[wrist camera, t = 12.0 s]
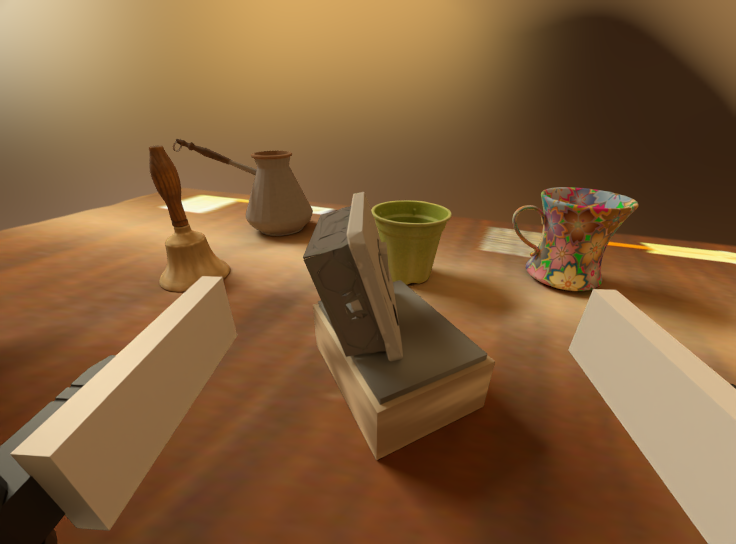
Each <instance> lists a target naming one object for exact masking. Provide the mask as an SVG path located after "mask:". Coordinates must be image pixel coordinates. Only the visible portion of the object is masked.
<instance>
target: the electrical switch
mask: <svg viewBox="0 0 736 544" xmlns="http://www.w3.org/2000/svg"><path fill="white" fill-rule="evenodd" d="M312 256H313V257H312ZM309 257H310V258H309ZM303 258H304V262H305V264H306V266H307V269H308V271H309V273H310V275H311V278H312V280H313V282H314V285H315V287H316V289H317V291H318V294H319V296H320V298H321V301H322V303H323V305H324V307H325V310H326V312H327V314H328V317H329V319H330V321H331V324H332V326H333V328H334V330H335V333H336V335H337V337H338V340H339V342H340V344H341V346H342V349H343V351H344V353H345V356H346V357H349V356H353V355H358V354H363V353H375V352H378V351H386V352H387V355H388V359H389V361H395V360H399V359H402V357H403V350H402V342H401V335H400V328H399V321H398V314H397V307H396V300H395V293H394V286H393V282H392V278H391V274H390V271H389V267H388V256H387V243H386V242H381V240H380V237H379V233H378V230H377V226H376V223H375V220H374V217H373V214H372V211H371V208H370V206H369V203H368V200H367V198H366V195H365V193H364V192H361V193H356V194H354V195H353V199H352V205H351V206H350V207H345V208H342V209H340V210H338V211H335V212H331V213H326V214H322V215H321V216H320V218H319V220H318V223H317V225H316V228H315V230H314V232H313V235H312V237H311V239H310V242H309V244H308V247H307V249H306V251H305V254H304V256H303ZM306 258H307V259H306ZM348 303H351V310H349V308H348V307H347V306H346V304H348Z"/></svg>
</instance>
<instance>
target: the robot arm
mask: <svg viewBox="0 0 736 544" xmlns="http://www.w3.org/2000/svg"><path fill="white" fill-rule="evenodd" d="M236 337H237V332H236V329H235V325H234V321H233V317H232V313H231V309H230V305H229V301H228V297H227V293H226V289H225V285H224V281H223V277H212V276H202V277H201V278H200V279H199V280H198V281H196V282H195V283H194V284H193V285H192V286H191V287H190V288H189V289H188V290H187V291H186V292H185V293H183V294H182V295H181V296H180V297H179V298H178V299H177V300H176V301H175V302H174V303H173V304H172V305H171V306H169V307H168V308H167V309H166V310H165V311H164V312H163V313H162V314H161V315H160V316H159V317H158V318H156V319H155V320H154V321H153V322H152V323H151V324H150V325H149V326H148V327H147V328H146V329H145V330H143V331H142V332H141V333H140V334H139V335H138V336H137V337H136V338H135V339H134V340H133V341H132V342H130V343H129V344H128V345H127V346H126V347H125V348H124V349H123V350H122V351H121V352H120V353H119V354H117V355H116V356H115V355H111V356H109V357H107V358H105V359H104V360H102V361H100V362H99V363H97V364H95V365H94V366H92V367H90V368H89V369H88V370H86V371H85V372H84V373H83V374H82V375H81V376H80V377H78V378H77V379H76V380H75V381H74V382H73V383H72V384H71V386H70V388H66V389H65V390H64V391H63V392H61V393H60V394H59V395H58V396H57V397H56V399H55V401H54V402H53V401H51V402H50V403H49V404H48V405H47V406H46V407H44V408H43V409H42V410H41V411H40V412H39V413H38V414H37V415H35V416H34V417H33V418H32V419H31V420H30V421H29V422H27V423H26V424H25V425H24V426H23V427H22V428H21V429H20V430H18V431H17V432H16V433H15V434H14V435H13V436H12V437H10V438H9V439H8V440H7V441H6V442H5V443H4V444H3V445H1V446H0V544H57V537H56V531H55V530H54V527H55V526H56V525H57V524H58V522H59V521H60V520H61V519H62V517H63V516H64V515H66V517H67V518H68V519H69V520H70V521H71V522H72V523H73V524H74V525H75V526H76V528H84V529H96V530H110V529H111V527H112V526H113V524H114V523H115V521H116V520H117V518H118V517H119V515H120V514H121V512H122V511H123V509H124V508H125V506H126V505H127V503H128V501H129V500H130V498H131V497H132V495H133V494H134V492H135V491H136V489H137V488H138V486H139V485H140V483H141V482H142V480H143V479H144V477H145V476H146V474H147V473H148V471H149V469H150V468H151V466H152V465H153V463H154V462H155V460H156V459H157V457H158V456H159V454H160V453H161V451H162V450H163V448H164V447H165V445H166V444H167V442H168V440H169V439H170V437H171V436H172V434H173V433H174V431H175V430H176V428H177V427H178V425H179V424H180V422H181V421H182V419H183V418H184V416H185V415H186V413H187V411H188V410H189V408H190V407H191V405H192V404H193V402H194V401H195V399H196V398H197V396H198V395H199V393H200V392H201V390H202V389H203V387H204V386H205V384H206V383H207V381H208V379H209V378H210V376H211V375H212V373H213V372H214V370H215V369H216V367H217V366H218V364H219V363H220V361H221V360H222V358H223V357H224V355H225V354H226V352H227V350H228V349H229V347H230V346H231V344H232V343H233V341H234V340H235V338H236ZM569 351H570V353H571V354H572V356H573V357H574V358H575V360H576V361H577V362H578V364H579V365H580V367H581V368H582V369H583V371H584V372H585V374H586V375H587V376H588V378H589V379H590V381H591V382H592V383H593V385H594V386H595V387H596V389H597V390H598V392H599V393H600V394H601V396H602V397H603V399H604V400H605V401H606V403H607V404H608V405H609V407H610V408H611V410H612V411H613V412H614V414H615V415H616V417H617V418H618V419H619V421H620V422H621V424H622V425H623V426H624V428H625V429H626V430H627V432H628V433H629V435H630V436H631V437H632V439H633V440H634V442H635V443H636V444H637V446H638V447H639V448H640V450H641V451H642V453H643V454H644V455H645V457H646V458H647V460H648V461H649V462H650V464H651V465H652V467H653V468H654V469H655V471H656V472H657V473H658V475H659V476H660V478H661V479H662V480H663V482H664V483H665V485H666V486H667V487H668V489H669V490H670V491H671V493H672V494H673V496H674V497H675V498H676V500H677V501H678V503H679V504H680V505H681V507H682V508H683V510H684V511H685V512H686V514H687V515H688V516H689V518H690V519H691V521H692V522H693V523H694V525H695V526H696V528H697V529H698V530H699V532H700V533H701V534H702V536H703V537H704V539H705V540H706V541H707V543H708V544H736V386H735V385H733V384H729V383H728V382H727V381H726V380H724V379H723V378H722V377H721V376H720V375H718V374H717V373H716V372H715V371H714V370H712V369H711V368H710V367H709V366H707V365H706V364H705V363H704V362H703V361H701V360H700V359H699V358H698V357H697V356H695V355H694V354H693V353H692V352H691V351H689V350H688V349H687V348H686V347H685V346H683V345H682V344H681V343H680V342H678V341H677V340H676V339H675V338H674V337H672V336H671V335H670V334H669V333H668V332H666V331H665V330H664V329H663V328H662V327H660V326H659V325H658V324H657V323H656V322H654V321H653V320H652V319H651V318H650V317H648V316H647V315H646V314H645V313H643V312H642V311H641V310H640V309H639V308H637V307H636V306H635V305H634V304H633V303H631V302H630V301H629V300H628V299H627V298H625V297H624V296H623V295H622V294H621V293H619V292H618V291H617V290H604V289H593V291H592V293H591V296H590V298H589V300H588V303H587V305H586V308H585V310H584V313H583V315H582V318H581V320H580V323H579V325H578V328H577V330H576V333H575V335H574V337H573V340H572V342H571V345H570V347H569Z"/></svg>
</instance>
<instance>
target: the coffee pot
mask: <svg viewBox="0 0 736 544" xmlns="http://www.w3.org/2000/svg"><path fill="white" fill-rule="evenodd" d="M176 143H178V144H180V145H181V146H180V148H179V150H177V151H176V152H178V151H180V149H181V147H182V146H186V147H188V148H189V150H195V151H197V152H198V153H200V154H202V155H204V156H206V157H209V158H212V159H215V160H217V161H221V162H223V163H226V164H230V165H232V166H235V167H237V168H239V169H242V170H244V171H246V172H249V173H251V174H253V175H255V179H254V184H253V187H252V192H251V196H250V200H249V204H248V208H247V212H246V219H247V221H248V222H249V223H250V225H252V226H253V227H254V228H256V229H257V230H260V232H261V233H263V234H265V235H270V236H283V235H289V234H294V233H296V232H299V231H301V230H302V229H303V227H304V226H305V225H306V224H307V223H308V222H309V221H310V219H311V216H312V212H313V210H312V208H311V206H310V204H309V202H308V201H307V199H306V197H305V195H304V193H303V191H302V189H301V187H300V185H299V184H298V182H297V180H296V178H295V176H294V174H293V173H292V170H291V169H290V167H289V160H290V156H292V153H291V152H287V151H264V152H256V153H252V154H251V156H252V158H254V159H255V162H256V164H257V170H256V169H253V168H251V167H248V166H245V165H243V164H240V163H238V162H235V161H232V160H231V159H229V158H226V157H224V156H222V155H220V154H218V153H216V152H213V151H211V150H209V149H207V148H203V147H199V146H195V145H194V144H193V143H192V142H191V143H187V142H185V141H184V140H179V139H176V142H175V143H174V145H173V150H174V151H175V148H174V147H175V144H176Z"/></svg>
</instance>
